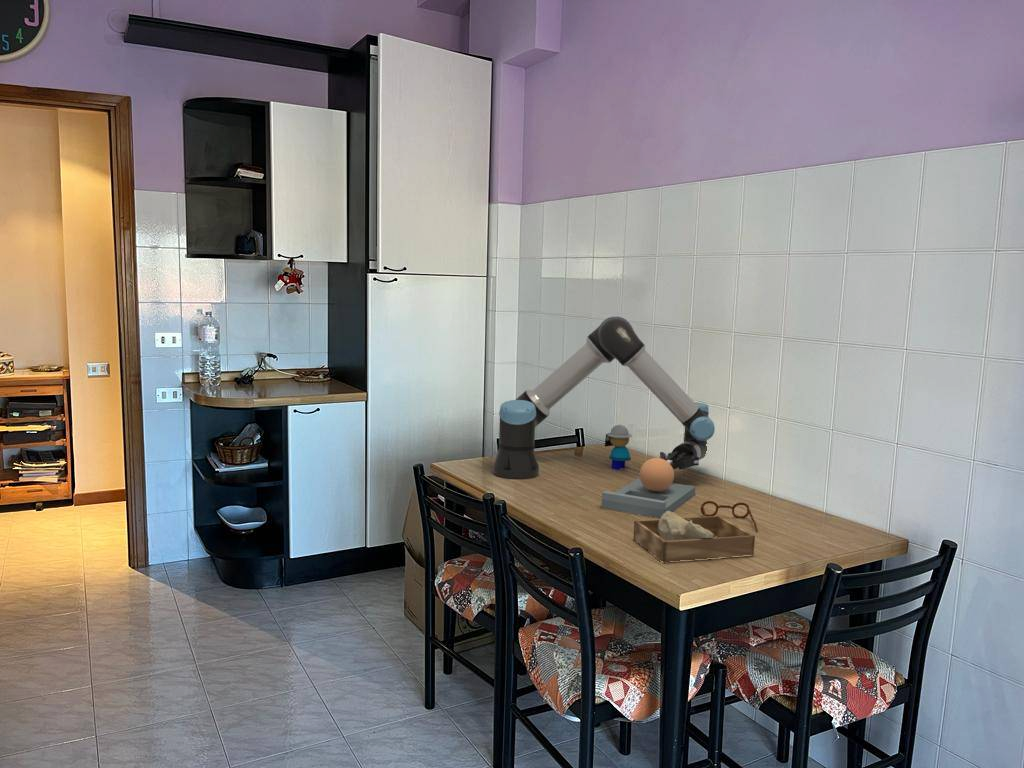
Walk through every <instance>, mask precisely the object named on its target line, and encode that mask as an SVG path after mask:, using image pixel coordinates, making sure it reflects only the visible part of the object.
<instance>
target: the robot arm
mask: <svg viewBox="0 0 1024 768" xmlns="http://www.w3.org/2000/svg"><path fill="white" fill-rule="evenodd" d="M614 360H616V361H618V363H620V364H621V366H623V367H628V368H629V370H630V371H631V372H632V373H634V375H635V376H636V377H637V378H638V379H639V380H640V381H641V382H642V383H643V385H645V387H647V389H649V391H650V392H651V393H652V394H653V395H655V397H656V398H657V399H658V400H659V401H660V402H661V403H662V404H663V405H664V407H665V408H666V409H667V410H668V411H669V412H670V413H671V414H673V416H674V417H675V418H676V419H677V421H679V422H680V423H681V424H682V426H683V427H684V433H683V442H682V443H680V444H678V445H677V446H675V447H674V448H673V449H672V451H671V452H668V453H666V452H663V451H660V452H659V458H661V459H664V460H666V461H667V462H669V464H670V465H671V466H672V468H673V470H676V469H678V470H680V471H681V470H686V469H688V468H691V467H694V466H696V467H697V466H699V463H700V460H702V459H703V458H705V457H706V455H707V454H706V451H707V446H706V444H707V441H708V440H710V439H711V438H712V437H713V436H714V434H715V431H716V430H715V429H716V428H715V423H714V422H713V420H712V419H711V418H710V417H709V414H710V411H709V405H708V404H706V403H704V402H695V401H694V400H693V399H692V398H691V397H690V396H689V395H688V394H687V393H686V392H685V391H684V389H682V388H681V386H680V385H679V384H678V383H677V382H676V381H675V380H674V379H673V378H672V377H671V376H670V375H669V373H668V372H666V371H665V369H664V368H662V366H661V365H660V364H659V363H658V362H657V361H656V360H655V359H654V358H653V356H651V355H650V354H649V353H648V351H647V350H646V345H645V344H644V342H643V341H642V340H641V339H640V338H639V336H638V334H637V333H636V332H635V330H634V328H633V326H632V325H631V323H630V322H629V321H628V320H627V319H626V318H624V317H623V316H609V317H608V318H606V319H604V320H603V321H602V322H601V323H600V325H599V326H598V327H597V328H595V329H594V330H593V331H592V332H591V333H589V334H588V335H587V337H586V343H585V344H584V345H583V346H582V347H581V348H579V349H578V350H577V351H576V352H575V353H573V355H572V356H571V357H569V358H568V359H567V360H566V361H564V362H563V363H562V364H561V365H560V366H559V367H558V368H557V369H555V371H553V372H552V373H551V374H550V375H548V376H547V377H546V378H544V380H543V381H542V382H541V383H540V384H538V385H537V386H536V387H534V389H526V390H525V391H523V393H521V394H520V395H519V396H518V397H517V398H516V399H513V400H511V399H510V400H508V401H507V400H506V401H504V402H503V403H501V404H500V406H499V407H500V408H499V411H498V416H499V431H498V433H499V434H498V451H497V454H496V457H495V459H494V462H493V465H492V473H493V475H495V476H498V477H500V478H505V479H516V480H517V479H521V480H522V479H523V478H524V479H531V478H536V477H538V476H539V475H540V466H539V462H538V458H537V456H536V452H535V444H536V443H535V440H536V427H537V426H539V425H540V424H541V423H542V422H544V420H545V419H547V418H548V417H549V416H550V410H551V408H553V407H554V406H555V405H556V404H557V403H558V402H560V401H561V400H562V399H563V398H564V397H566V396H567V395H568V394H569V393H570V392H571V391H573V390H574V389H575V387H577V386H578V385H579V384H581V382H583V381H584V380H585V379H586V378H587V377H589V376H590V375H591V374H592V373H593V372H595V371H596V369H598V368H599V367H600V366H601V365H602V364H604V363H605V364H607V363H608V364H609V363H611V362H613V361H614ZM705 454H706V455H705Z"/></svg>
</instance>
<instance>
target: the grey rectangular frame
mask: <svg viewBox="0 0 1024 768" xmlns="http://www.w3.org/2000/svg"><path fill="white" fill-rule="evenodd" d="M601 494H602V495H601V509H605V510H610V511H615V510H616V511H617V512H621V511H623V513H626V512H628V513H627V514H632V513H633V514H632V515H638V514H640V515H639V516H643V515H645V517H649V516H651V517H650V518H654V517H657V518H656V519H660V518H661V516H662V515H663V514H664V513H665V512H666V511H670V512H672V513H674V511H675V509H676V510H677V509H678V508H679V507H681V506H682V505H684V504H685V503H686V502H688V501H689V500H690V499H691V498H693V497H694V496H695V495H696V486H693V485H687V484H681V483H675V482H672V484H671V486H670V487H669V488H668V489H666V490H664V491H661V492H653V491H650V490H648V489H647V488H645V487H644V485H643V484H642V482H641V480H640V477H638V478H637V479H635V480H633V481H631V482H630V483H628V484H625V485H624V486H622V487H621V488H619V489H617V490H616V491H614V492H612V491H606V490H604V491H602V492H601ZM684 502H685V503H684ZM680 505H681V506H680Z"/></svg>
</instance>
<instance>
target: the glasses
mask: <svg viewBox="0 0 1024 768" xmlns="http://www.w3.org/2000/svg"><path fill="white" fill-rule="evenodd" d="M707 504H712V505H714V506H715V510H714V512H713V513H710V514H709V513H706V510H705V505H707ZM738 506H744V507H746V513H745V514H744V515H737V514H735V508H736V507H738ZM721 508H724V509H731V512H732V516H733V517H734V518H736V519H745V518H747V517H748V516H749V517H750V519H751V521H752V523H753V524H754V529H755V533H757V532H758V533H759V530H758V526H757V523H756V520H755V519H754V516H753V514H752V511H751V509H750V506H749V505H748V504H747V503H745V502H737V503H735V504H733V505H732V506H731V505H729V504H728V505H727V504H720V505H719V504H718V503H717V502H715V501H713V500H706V501H704V502H702V504H701V506H700V512H701V514H702V516H703V517H705V516H717V514H718V511H719V509H721Z"/></svg>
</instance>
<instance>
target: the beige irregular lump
mask: <svg viewBox="0 0 1024 768" xmlns="http://www.w3.org/2000/svg"><path fill="white" fill-rule="evenodd" d="M683 518H684V517H682V516H680V515H677V514H676V513H675V512H670V511H666V512H665V513H664V514H663V515H662V516H661V518H659V519H660V520H659V523H658V532H659V535H660V537H661V538H662V539H664V540H665V541H674V540H689V539H704V538H714V537H715V536H714V534H713V533H712V532H710V531H709V530H707V529H704V528H703V527H701V526H700V525H697V524H693V523H692V520H691V521H690V522H689V521H687V520H690V519H687V520H685V519H683Z"/></svg>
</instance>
